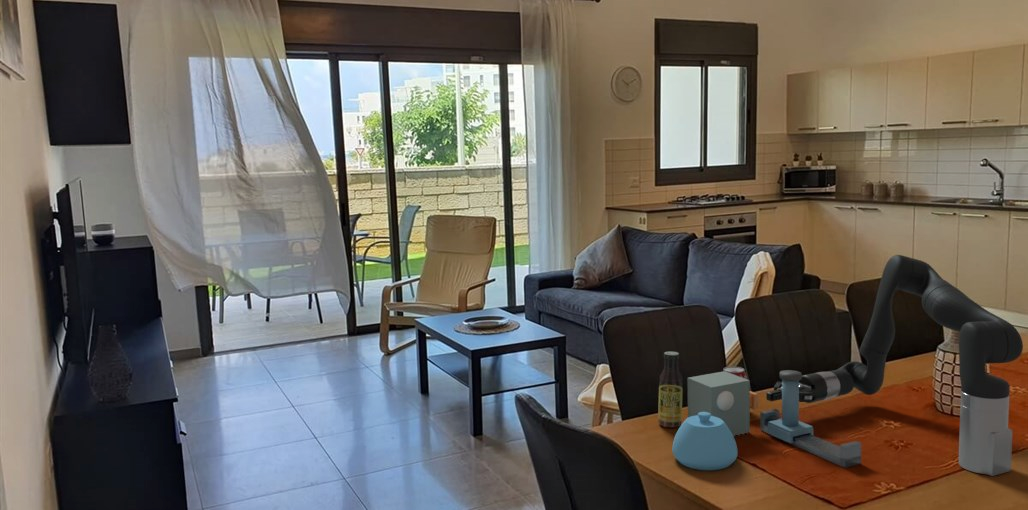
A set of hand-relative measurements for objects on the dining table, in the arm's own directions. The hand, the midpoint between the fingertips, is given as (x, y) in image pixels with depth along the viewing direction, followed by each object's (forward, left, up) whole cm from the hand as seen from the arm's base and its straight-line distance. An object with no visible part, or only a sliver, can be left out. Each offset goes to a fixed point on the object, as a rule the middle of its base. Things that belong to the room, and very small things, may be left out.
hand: (768, 396), depth 205 cm
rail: (-16, +2, -8) cm, 18 cm away
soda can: (+14, 0, -8) cm, 16 cm away
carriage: (-10, +2, -8) cm, 13 cm away
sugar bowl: (-11, +29, -8) cm, 32 cm away
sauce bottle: (+13, +22, -8) cm, 27 cm away
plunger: (0, +9, -2) cm, 9 cm away
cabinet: (+3, +14, -8) cm, 16 cm away
